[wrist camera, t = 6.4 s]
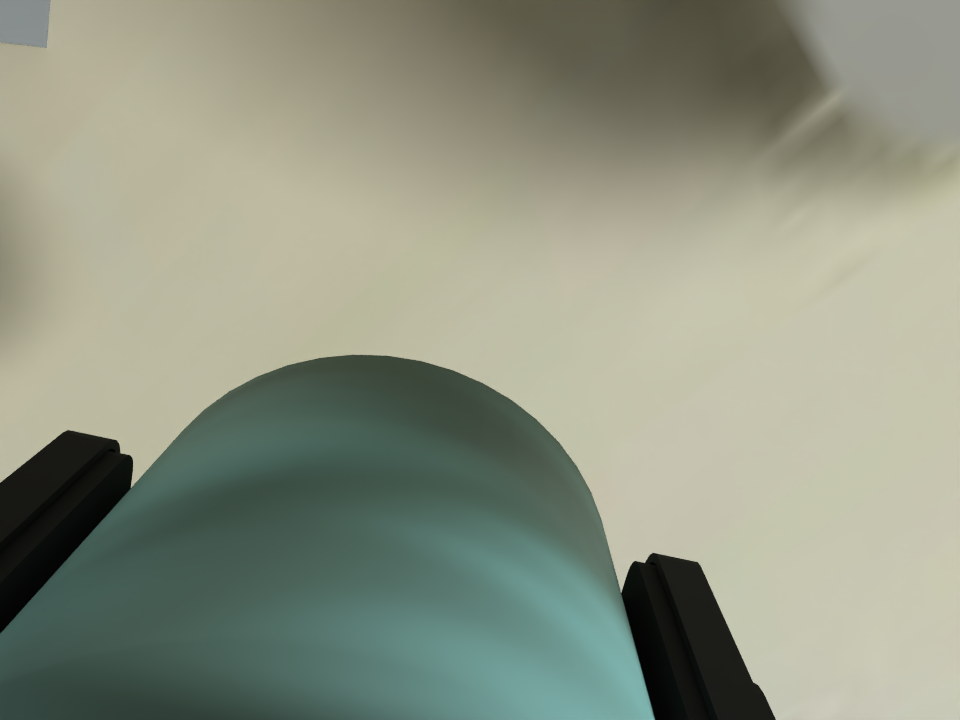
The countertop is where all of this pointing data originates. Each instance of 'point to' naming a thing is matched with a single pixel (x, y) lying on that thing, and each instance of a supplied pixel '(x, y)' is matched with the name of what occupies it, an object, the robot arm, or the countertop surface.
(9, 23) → the slate base block
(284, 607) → the teal cylinder
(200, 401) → the countertop surface
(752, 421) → the countertop surface
